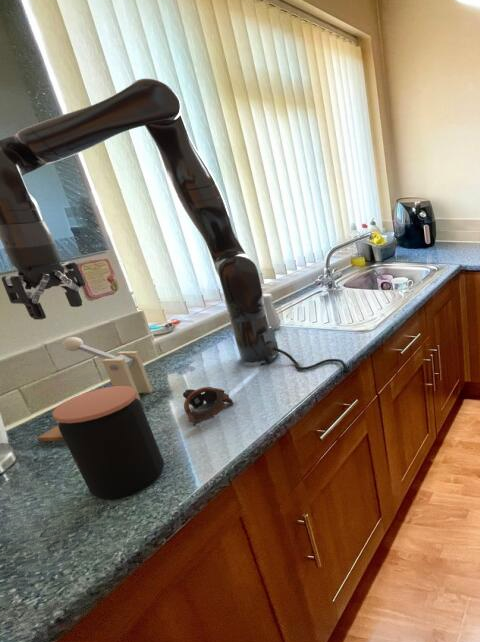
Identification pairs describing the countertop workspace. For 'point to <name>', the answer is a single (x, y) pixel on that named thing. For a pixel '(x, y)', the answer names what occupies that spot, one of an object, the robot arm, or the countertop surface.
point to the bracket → (128, 372)
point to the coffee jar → (110, 441)
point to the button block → (52, 435)
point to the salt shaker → (271, 312)
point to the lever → (91, 350)
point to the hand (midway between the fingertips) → (59, 312)
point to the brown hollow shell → (209, 396)
